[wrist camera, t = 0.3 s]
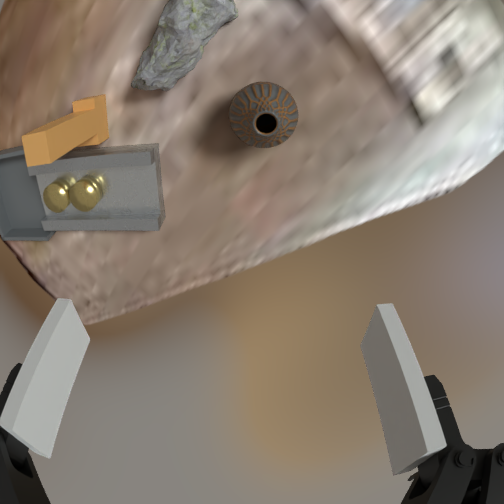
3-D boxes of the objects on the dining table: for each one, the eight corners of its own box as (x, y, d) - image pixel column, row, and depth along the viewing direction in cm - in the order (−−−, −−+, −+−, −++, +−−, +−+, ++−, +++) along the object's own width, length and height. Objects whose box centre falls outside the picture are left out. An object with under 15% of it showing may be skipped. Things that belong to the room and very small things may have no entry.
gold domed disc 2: (73, 177, 33) (66, 183, 32) (99, 175, 34) (93, 181, 32) (79, 205, 36) (72, 212, 34) (105, 204, 36) (98, 211, 34)
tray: (-10, 153, 32) (-21, 160, 29) (36, 142, 32) (24, 149, 30) (12, 230, 40) (2, 240, 37) (57, 229, 40) (47, 240, 38)
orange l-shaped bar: (84, 97, 30) (19, 122, 19) (105, 94, 30) (43, 116, 19) (88, 140, 33) (30, 179, 22) (109, 137, 33) (53, 177, 22)
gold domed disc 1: (47, 179, 33) (40, 185, 32) (70, 177, 33) (63, 183, 32) (54, 206, 36) (47, 213, 34) (76, 205, 36) (69, 212, 34)
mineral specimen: (190, 103, 31) (177, 112, 26) (136, 82, 29) (112, 87, 24) (256, -11, 24) (257, -28, 18) (197, -32, 22) (185, -51, 16)
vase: (269, 68, 29) (275, 69, 22) (304, 117, 32) (321, 133, 25) (218, 103, 31) (209, 116, 24) (255, 149, 34) (257, 175, 27)
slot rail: (40, 155, 33) (26, 164, 30) (158, 143, 34) (150, 151, 31) (55, 218, 39) (44, 230, 36) (165, 216, 39) (159, 230, 36)
